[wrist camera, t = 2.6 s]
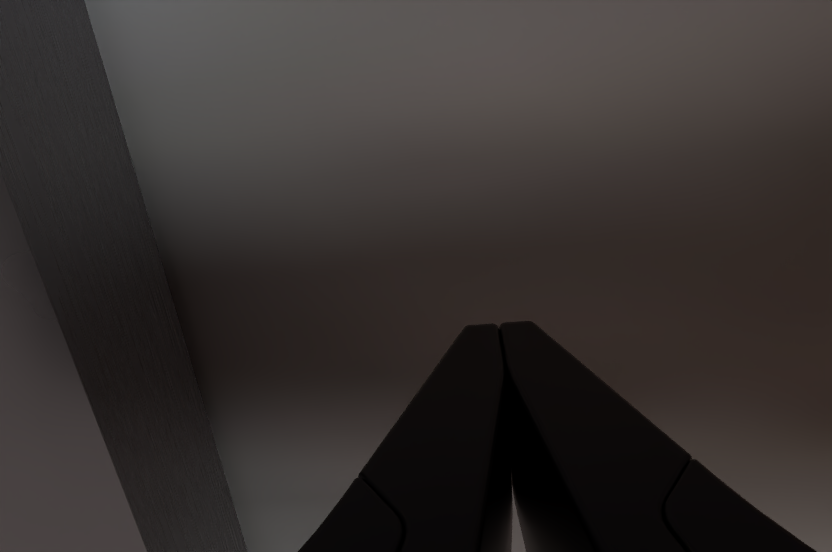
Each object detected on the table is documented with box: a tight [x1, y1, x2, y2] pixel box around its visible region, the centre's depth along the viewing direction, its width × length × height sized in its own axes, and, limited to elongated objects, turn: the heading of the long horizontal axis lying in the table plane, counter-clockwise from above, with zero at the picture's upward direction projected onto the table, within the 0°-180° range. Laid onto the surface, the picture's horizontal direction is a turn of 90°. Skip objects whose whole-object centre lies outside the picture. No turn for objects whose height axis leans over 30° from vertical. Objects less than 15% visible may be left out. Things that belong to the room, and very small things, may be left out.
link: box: [0, 0, 247, 552], centre depth 10 cm, size 24×6×3 cm, turn 6°
